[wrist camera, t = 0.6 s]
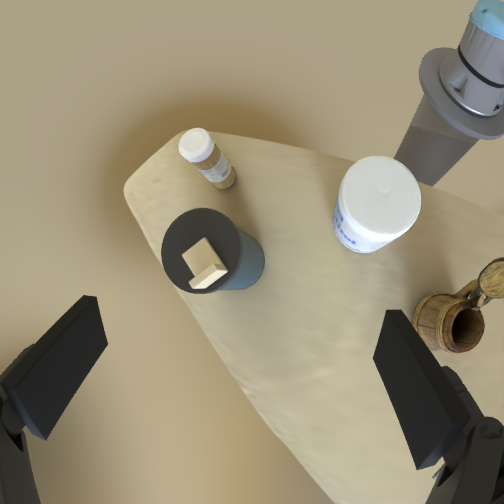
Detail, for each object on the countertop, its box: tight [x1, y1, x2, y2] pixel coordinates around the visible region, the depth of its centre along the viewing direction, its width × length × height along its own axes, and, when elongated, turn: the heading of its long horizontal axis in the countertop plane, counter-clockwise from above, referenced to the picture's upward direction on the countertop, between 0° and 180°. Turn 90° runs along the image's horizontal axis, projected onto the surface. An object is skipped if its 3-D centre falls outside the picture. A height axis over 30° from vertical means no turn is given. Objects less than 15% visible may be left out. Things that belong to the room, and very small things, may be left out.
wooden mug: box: [412, 257, 504, 353], centre depth 30 cm, size 9×14×18 cm, turn 150°
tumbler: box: [161, 208, 265, 294], centre depth 40 cm, size 10×10×15 cm
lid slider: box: [182, 238, 228, 289], centre depth 31 cm, size 4×3×3 cm
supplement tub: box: [333, 155, 421, 253], centre depth 36 cm, size 10×10×15 cm
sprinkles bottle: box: [179, 128, 236, 189], centre depth 43 cm, size 5×5×14 cm
